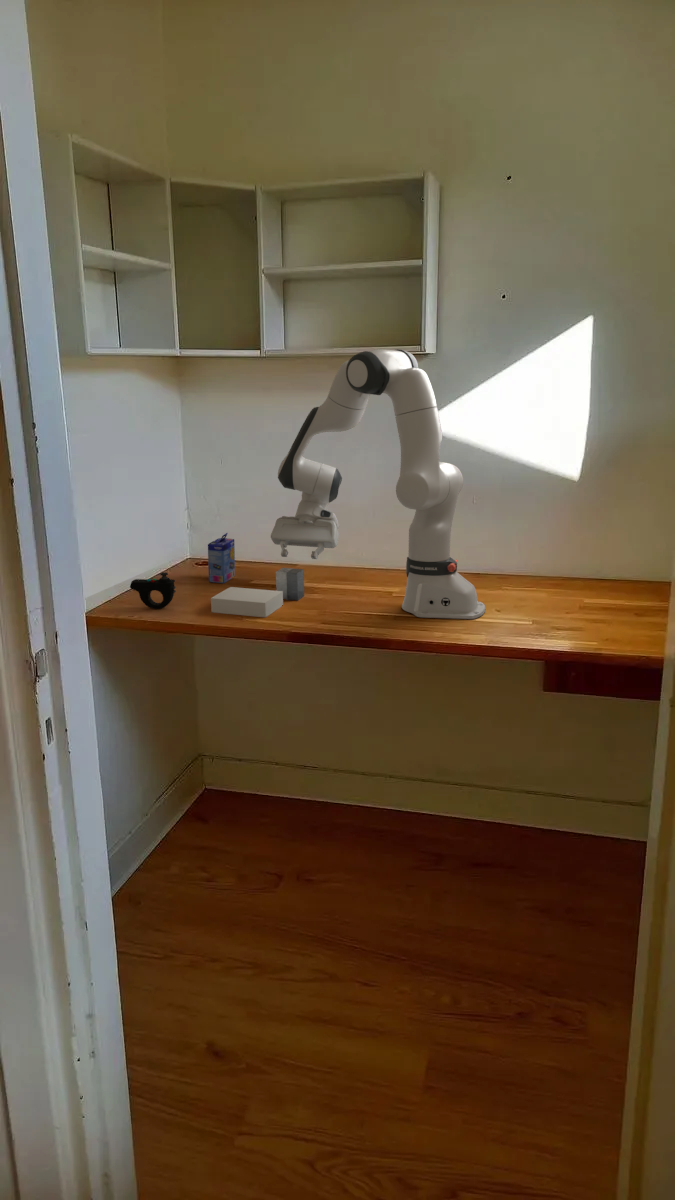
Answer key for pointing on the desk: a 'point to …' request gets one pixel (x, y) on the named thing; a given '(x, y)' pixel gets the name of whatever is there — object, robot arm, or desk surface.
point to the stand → (247, 602)
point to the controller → (161, 585)
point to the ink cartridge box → (221, 560)
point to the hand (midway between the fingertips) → (298, 557)
